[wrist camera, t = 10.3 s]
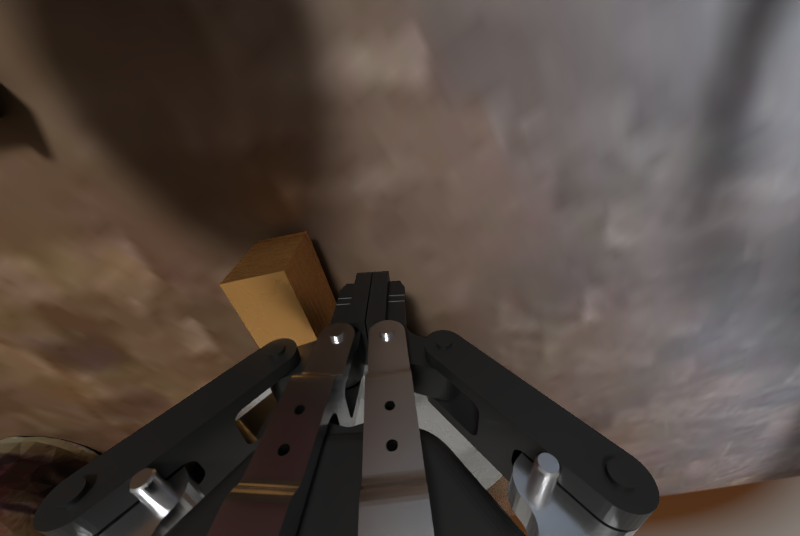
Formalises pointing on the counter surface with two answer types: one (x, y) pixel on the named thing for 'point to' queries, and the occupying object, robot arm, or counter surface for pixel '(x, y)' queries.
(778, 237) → the counter surface
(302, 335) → the frying pan
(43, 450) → the ceramic jug
